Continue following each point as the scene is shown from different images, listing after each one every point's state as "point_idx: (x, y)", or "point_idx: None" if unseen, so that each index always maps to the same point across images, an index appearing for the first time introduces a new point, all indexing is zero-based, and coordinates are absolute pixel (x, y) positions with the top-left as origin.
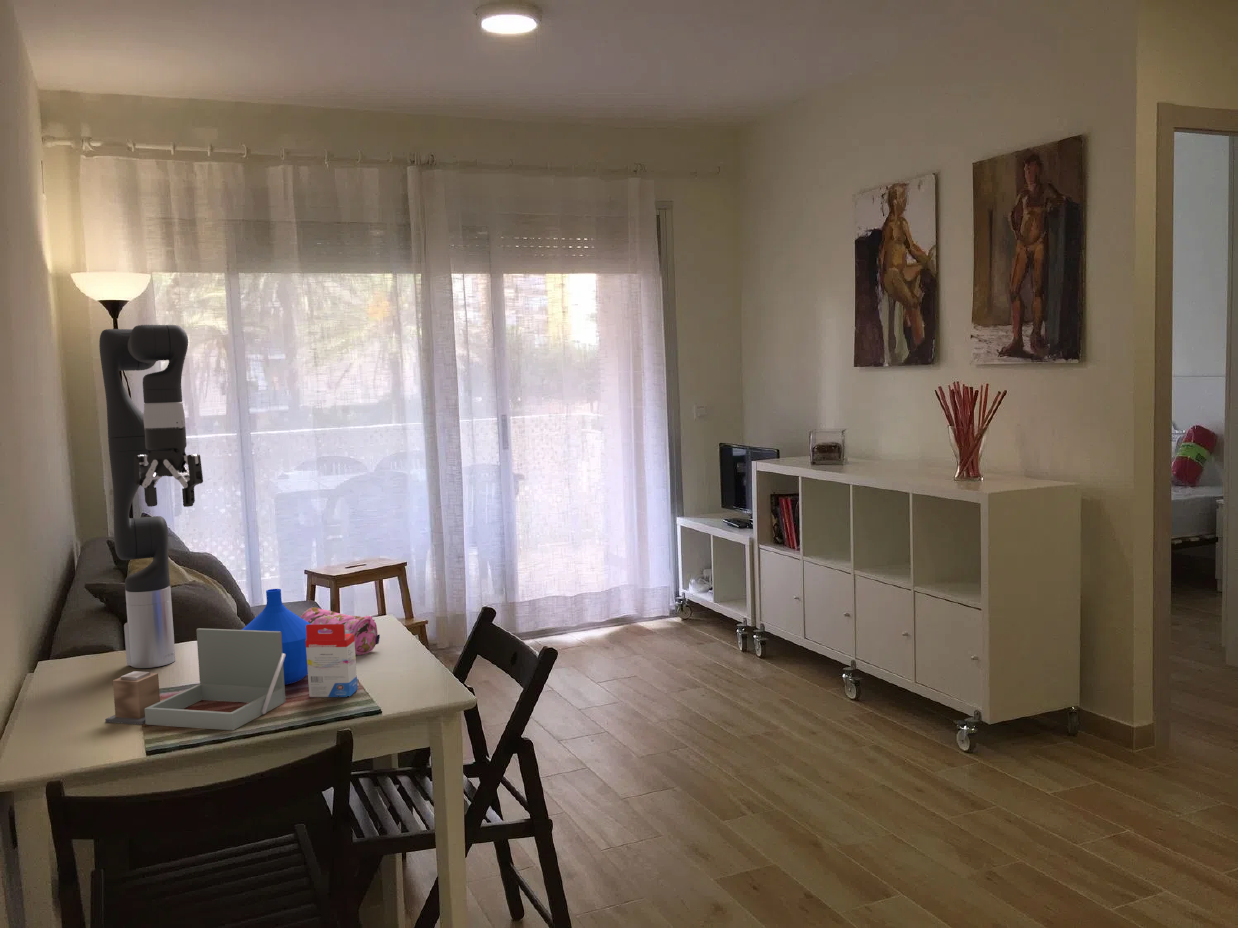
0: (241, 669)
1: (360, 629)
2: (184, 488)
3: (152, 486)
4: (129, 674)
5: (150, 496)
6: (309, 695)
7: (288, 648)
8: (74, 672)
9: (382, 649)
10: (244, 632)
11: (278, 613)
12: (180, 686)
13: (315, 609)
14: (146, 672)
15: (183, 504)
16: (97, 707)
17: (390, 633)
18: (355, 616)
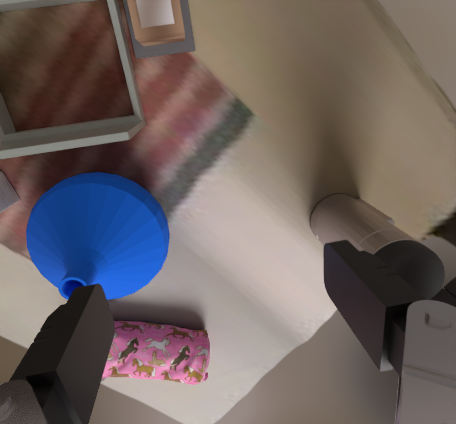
0: (59, 135)
1: None
2: (37, 378)
3: (395, 355)
4: (164, 1)
5: (350, 279)
6: (1, 172)
7: (32, 209)
8: (408, 155)
9: None
10: (20, 148)
11: (63, 256)
12: (218, 152)
13: (197, 376)
14: (145, 22)
15: (91, 286)
16: (254, 36)
17: (143, 393)
18: (118, 373)
